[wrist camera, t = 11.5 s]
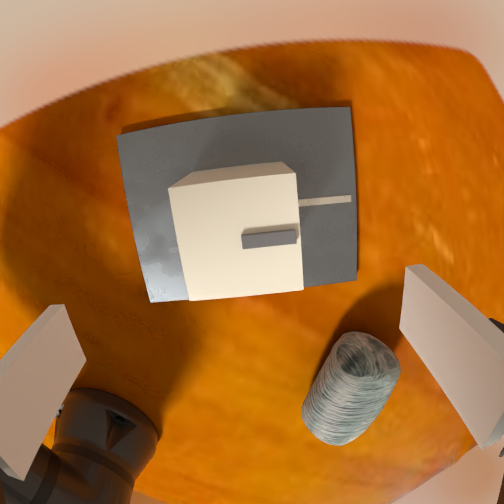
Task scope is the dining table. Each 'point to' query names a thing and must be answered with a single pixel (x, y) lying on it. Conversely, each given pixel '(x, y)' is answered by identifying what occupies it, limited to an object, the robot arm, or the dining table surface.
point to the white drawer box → (238, 231)
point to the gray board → (236, 154)
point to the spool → (350, 388)
